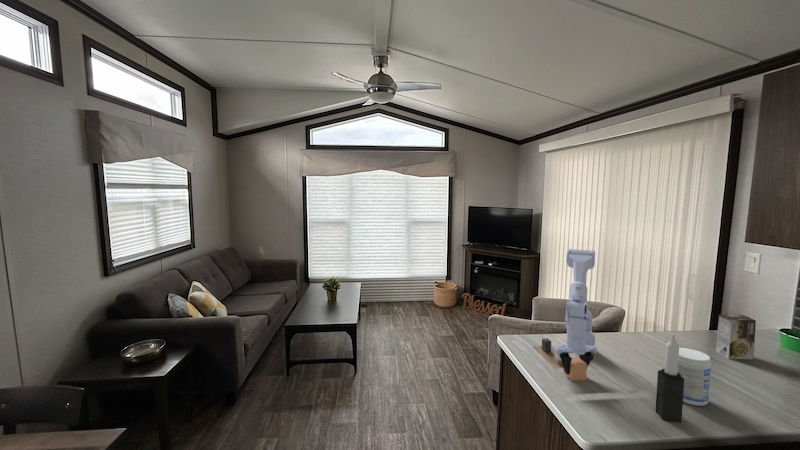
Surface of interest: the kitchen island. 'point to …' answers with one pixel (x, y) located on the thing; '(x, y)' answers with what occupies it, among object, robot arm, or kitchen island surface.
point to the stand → (547, 352)
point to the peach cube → (577, 369)
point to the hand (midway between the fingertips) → (574, 372)
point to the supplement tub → (694, 376)
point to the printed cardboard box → (736, 336)
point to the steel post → (557, 359)
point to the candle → (670, 386)
